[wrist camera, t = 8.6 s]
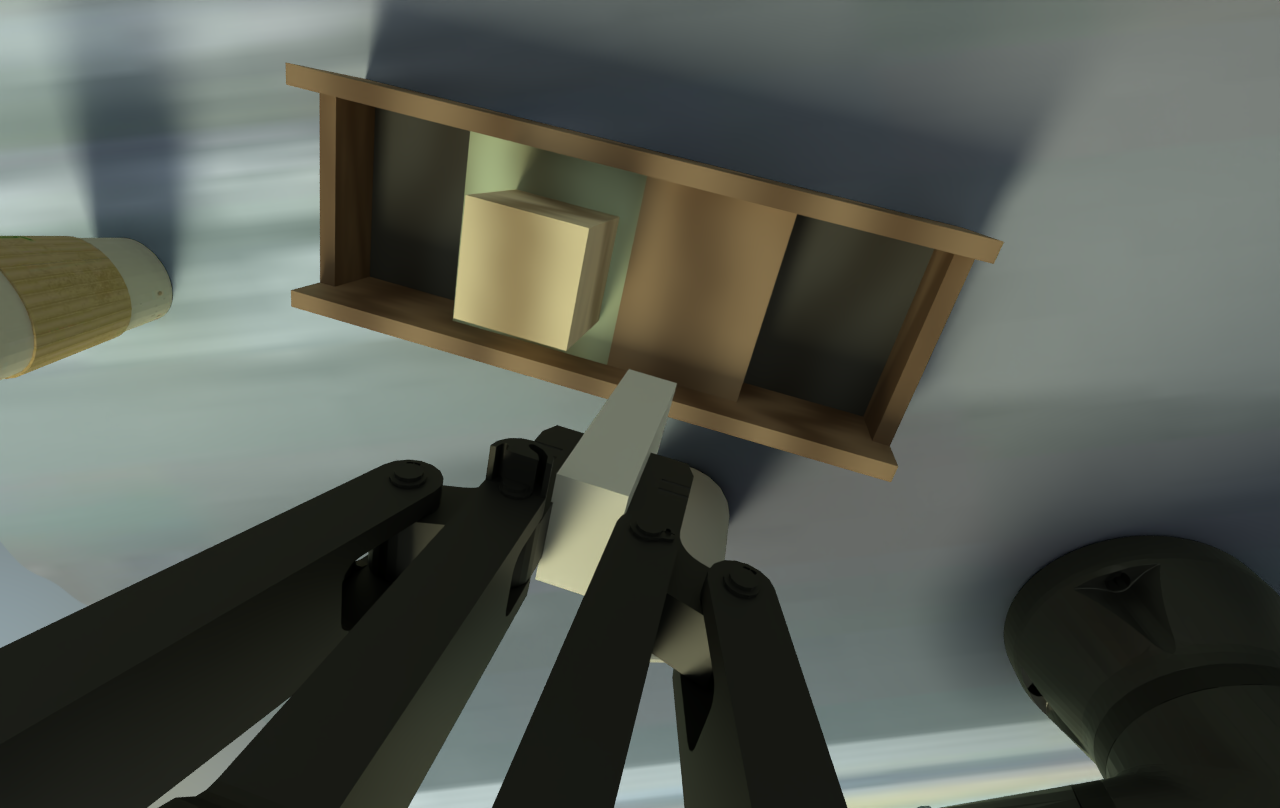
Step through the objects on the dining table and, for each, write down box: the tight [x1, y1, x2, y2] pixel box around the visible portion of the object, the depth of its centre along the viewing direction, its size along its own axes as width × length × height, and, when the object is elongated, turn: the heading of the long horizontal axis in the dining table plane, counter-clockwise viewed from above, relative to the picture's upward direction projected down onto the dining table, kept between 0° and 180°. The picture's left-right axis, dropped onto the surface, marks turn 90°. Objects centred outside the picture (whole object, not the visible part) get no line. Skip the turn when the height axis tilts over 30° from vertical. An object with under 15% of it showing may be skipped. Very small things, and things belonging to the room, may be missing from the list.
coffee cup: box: [0, 236, 172, 380], centre depth 38 cm, size 10×10×15 cm
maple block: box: [453, 189, 620, 351], centre depth 31 cm, size 6×6×6 cm
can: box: [650, 468, 730, 662], centre depth 37 cm, size 8×8×12 cm
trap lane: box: [286, 63, 1004, 482], centre depth 34 cm, size 36×13×6 cm, turn 77°
